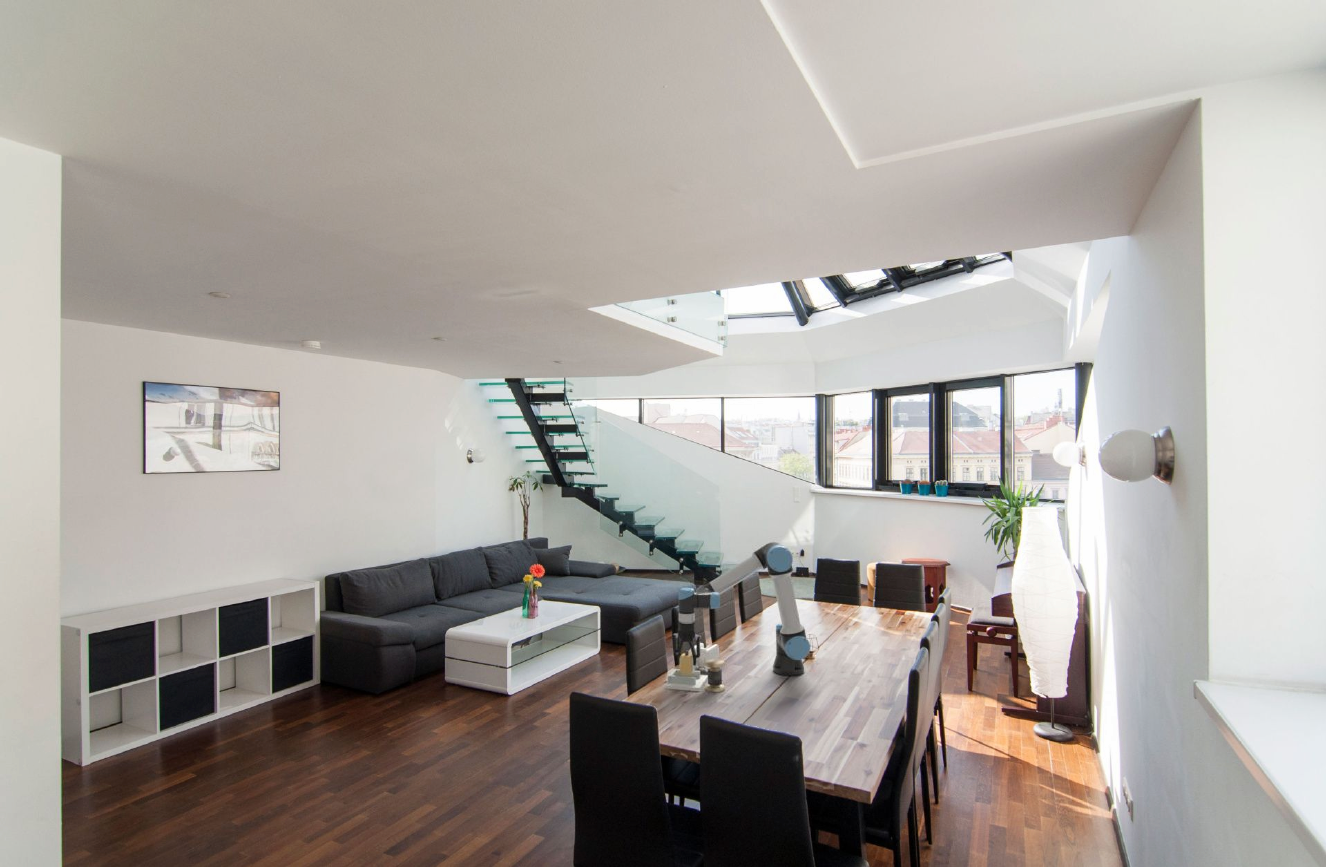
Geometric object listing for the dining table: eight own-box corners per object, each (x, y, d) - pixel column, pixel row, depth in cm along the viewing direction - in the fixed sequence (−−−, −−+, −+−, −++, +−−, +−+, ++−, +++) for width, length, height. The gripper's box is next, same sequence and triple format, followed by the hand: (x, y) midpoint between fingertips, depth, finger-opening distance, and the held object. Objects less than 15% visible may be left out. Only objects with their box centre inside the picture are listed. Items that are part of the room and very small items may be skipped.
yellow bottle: (693, 671, 316) (693, 649, 316) (691, 674, 311) (690, 652, 311) (683, 670, 317) (683, 648, 317) (680, 673, 312) (680, 651, 312)
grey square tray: (708, 678, 320) (708, 669, 320) (699, 691, 303) (699, 681, 303) (675, 676, 325) (675, 666, 325) (665, 688, 307) (665, 678, 307)
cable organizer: (707, 675, 325) (707, 651, 325) (688, 672, 330) (687, 648, 330) (719, 666, 338) (719, 643, 339) (700, 664, 343) (700, 641, 343)
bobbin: (726, 686, 309) (726, 660, 309) (722, 693, 300) (722, 666, 301) (707, 684, 312) (707, 658, 312) (703, 691, 303) (702, 664, 303)
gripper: (707, 621, 316) (707, 670, 315) (670, 618, 321) (670, 667, 320) (703, 624, 309) (704, 675, 308) (666, 622, 314) (666, 672, 313)
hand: (687, 671), depth 314 cm, fingers closed on yellow bottle, 5 cm apart
